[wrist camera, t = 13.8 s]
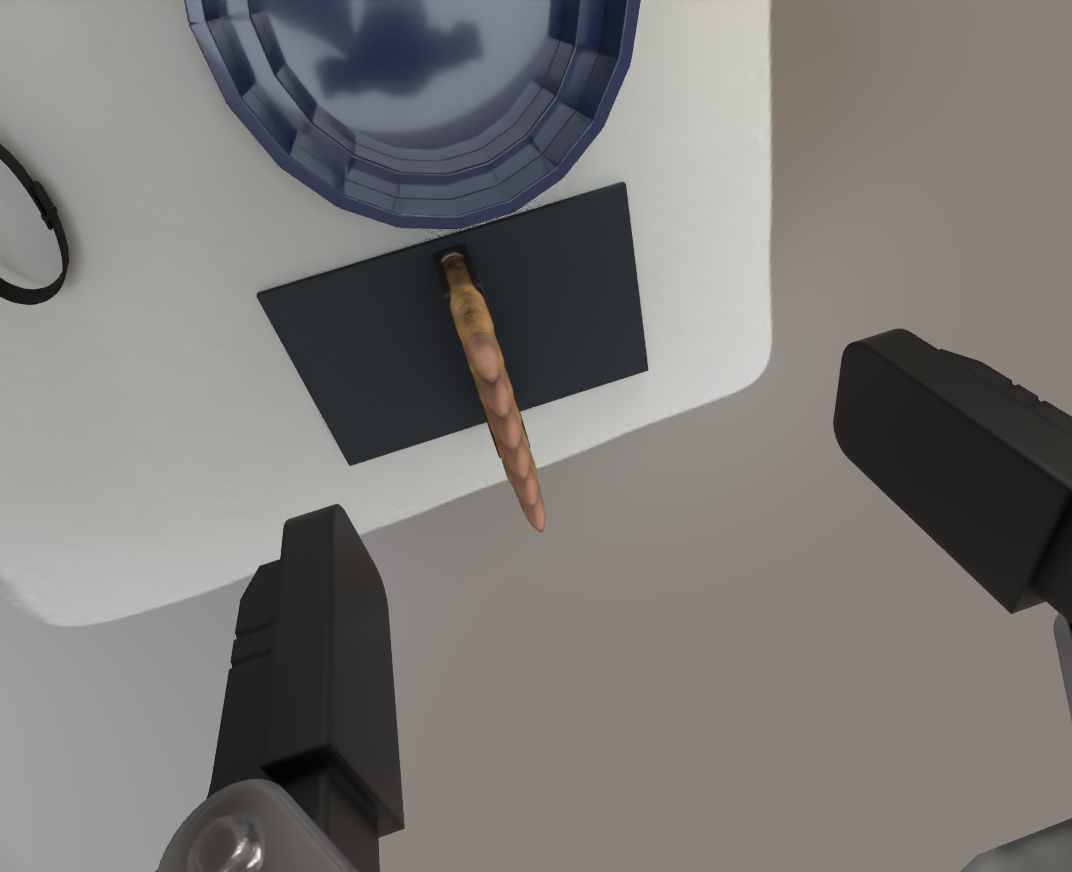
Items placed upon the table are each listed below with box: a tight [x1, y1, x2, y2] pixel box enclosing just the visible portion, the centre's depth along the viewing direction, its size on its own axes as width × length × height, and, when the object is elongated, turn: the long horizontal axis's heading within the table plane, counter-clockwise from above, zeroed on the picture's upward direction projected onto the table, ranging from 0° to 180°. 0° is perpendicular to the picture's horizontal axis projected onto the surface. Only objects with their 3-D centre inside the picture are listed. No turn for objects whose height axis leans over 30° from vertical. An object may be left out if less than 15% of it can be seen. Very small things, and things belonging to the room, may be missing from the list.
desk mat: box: [257, 182, 648, 466], centre depth 36 cm, size 20×12×1 cm, turn 103°
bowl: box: [184, 0, 641, 229], centre depth 25 cm, size 16×16×5 cm
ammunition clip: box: [432, 244, 545, 532], centre depth 31 cm, size 11×2×12 cm, turn 13°
